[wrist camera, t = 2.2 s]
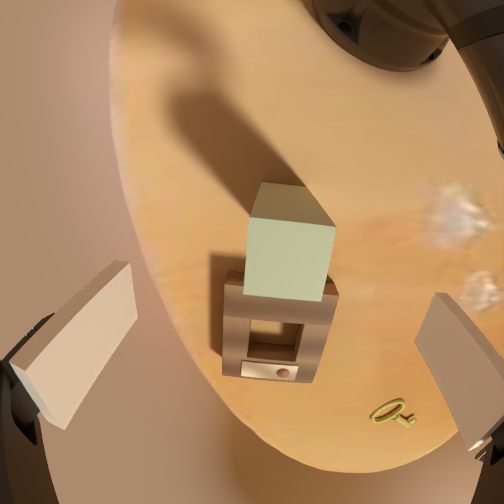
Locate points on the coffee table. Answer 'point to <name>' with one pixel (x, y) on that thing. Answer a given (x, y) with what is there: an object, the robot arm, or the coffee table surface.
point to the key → (392, 414)
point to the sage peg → (287, 244)
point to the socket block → (269, 355)
